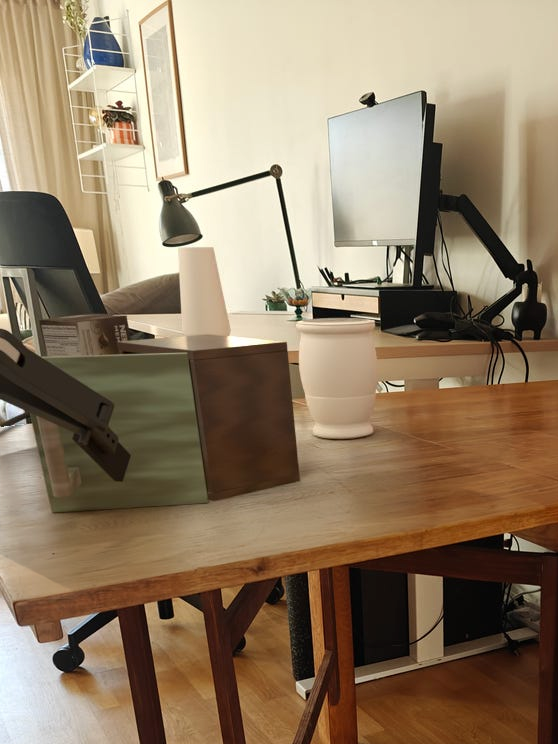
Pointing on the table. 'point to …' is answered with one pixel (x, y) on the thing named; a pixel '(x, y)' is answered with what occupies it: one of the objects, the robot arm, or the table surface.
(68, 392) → the robot arm
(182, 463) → the cupboard door
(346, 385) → the jar
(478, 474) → the table surface
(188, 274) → the white tapered column
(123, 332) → the coffee box
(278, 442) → the cupboard
